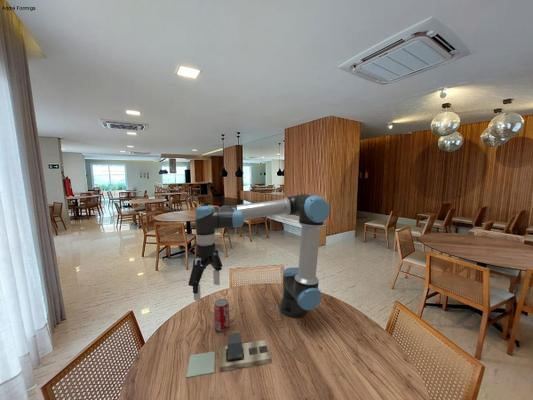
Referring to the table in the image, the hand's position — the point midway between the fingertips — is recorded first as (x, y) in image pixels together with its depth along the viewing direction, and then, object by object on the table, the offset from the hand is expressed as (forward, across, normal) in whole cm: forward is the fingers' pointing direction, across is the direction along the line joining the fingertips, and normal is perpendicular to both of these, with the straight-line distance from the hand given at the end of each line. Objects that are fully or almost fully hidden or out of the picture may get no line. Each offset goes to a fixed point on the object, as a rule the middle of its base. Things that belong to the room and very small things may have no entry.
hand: (207, 291), depth 93 cm
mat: (+24, +9, +3) cm, 26 cm away
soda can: (+25, -12, -1) cm, 27 cm away
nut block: (+25, +2, +14) cm, 28 cm away
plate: (+24, 0, +17) cm, 30 cm away
